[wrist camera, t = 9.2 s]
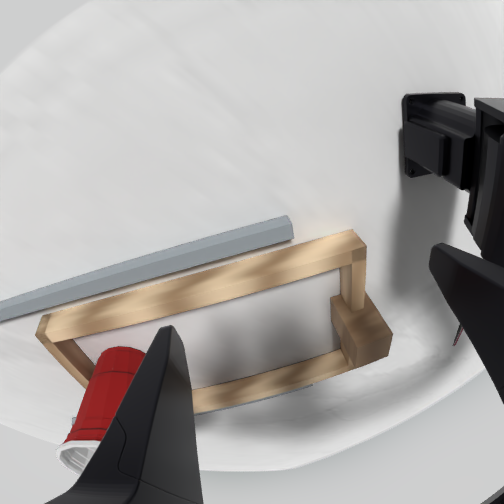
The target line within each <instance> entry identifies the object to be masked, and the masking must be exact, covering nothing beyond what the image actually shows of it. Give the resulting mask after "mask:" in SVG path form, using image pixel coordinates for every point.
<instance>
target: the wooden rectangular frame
mask: <svg viewBox="0 0 504 504" xmlns="http://www.w3.org/2000/svg"><path fill="white" fill-rule="evenodd" d="M366 248H367V246H366V245H365V243H364V242H363V241H362V240H361V239H360V238H359V236H358V235H357V234H356V233H355V232H354V231H353V229H351V230H348V231H344V232H341V233H337V234H334V235H330V236H327V237H323V238H320V239H316V240H313V241H309V242H306V243H302V244H299V245H295V246H292V247H288V248H285V249H281V250H278V251H274V252H270V253H267V254H263V255H260V256H256V257H253V258H249V259H246V260H242V261H239V262H235V263H231V264H228V265H224V266H221V267H217V268H214V269H210V270H206V271H203V272H199V273H196V274H192V275H188V276H185V277H181V278H178V279H174V280H170V281H167V282H163V283H160V284H156V285H152V286H149V287H145V288H142V289H138V290H134V291H131V292H127V293H123V294H120V295H116V296H113V297H109V298H105V299H102V300H98V301H94V302H91V303H87V304H83V305H80V306H76V307H72V308H69V309H65V310H61V311H58V312H54V313H50V314H47V315H43V316H42V318H41V321H40V323H39V326H38V329H37V331H36V334H35V336H36V337H37V338H38V340H39V341H40V342H41V343H42V344H43V345H44V346H45V348H46V349H47V350H48V351H49V352H50V353H51V354H52V355H53V356H54V358H55V359H56V360H57V361H58V362H59V363H60V364H61V365H62V366H63V367H64V368H65V369H66V370H67V371H68V372H69V373H70V374H71V375H72V376H73V377H74V378H75V379H76V380H77V381H78V382H79V383H80V384H81V385H82V386H83V387H84V388H85V389H87V386H88V383H89V381H90V378H92V375H93V372H94V369H95V365H94V364H93V363H92V362H91V361H90V359H89V358H88V357H87V356H86V355H85V354H84V353H83V351H82V350H81V349H80V348H79V347H78V346H77V344H76V343H75V342H74V341H73V340H72V338H77V337H81V336H86V335H90V334H94V333H99V332H103V331H108V330H112V329H116V328H120V327H125V326H129V325H133V324H137V323H141V322H145V321H149V320H153V319H157V318H161V317H165V316H169V315H173V314H177V313H181V312H185V311H189V310H192V309H196V308H200V307H204V306H208V305H211V304H215V303H219V302H222V301H226V300H230V299H233V298H237V297H241V296H244V295H248V294H251V293H255V292H258V291H262V290H265V289H269V288H272V287H276V286H279V285H283V284H286V283H289V282H293V281H296V280H299V279H303V278H306V277H309V276H313V275H316V274H319V273H323V272H326V271H329V270H332V269H336V268H339V267H340V289H341V294H340V295H337V296H334V297H331V298H330V300H331V321H332V323H333V325H334V327H335V329H336V331H337V333H338V335H339V337H340V339H341V340H340V349H339V350H336V351H333V352H330V353H327V354H324V355H321V356H318V357H315V358H312V359H309V360H306V361H303V362H300V363H296V364H293V365H290V366H286V367H283V368H280V369H276V370H273V371H269V372H266V373H262V374H258V375H254V376H251V377H247V378H243V379H239V380H235V381H231V382H227V383H223V384H218V385H214V386H209V387H205V388H200V389H195V390H192V398H193V411H194V414H195V413H200V412H205V411H210V410H215V409H220V408H225V407H229V406H233V405H238V404H242V403H246V402H250V401H254V400H258V399H262V398H265V397H269V396H273V395H276V394H280V393H283V392H287V391H290V390H294V389H297V388H300V387H303V386H306V385H310V384H313V383H316V382H319V381H322V380H325V379H328V378H331V377H333V376H336V375H339V374H342V373H345V372H347V371H350V370H353V369H357V368H359V367H362V366H364V365H367V364H369V363H372V362H374V361H377V360H379V359H382V358H384V357H387V356H388V354H389V350H390V345H391V341H392V336H393V333H392V331H391V330H390V328H389V327H388V325H387V324H386V322H385V321H384V319H383V318H382V316H381V314H380V313H379V311H378V310H377V308H376V307H375V305H374V304H373V302H372V301H371V299H370V298H369V296H368V295H367V293H366V292H365V278H366Z"/></svg>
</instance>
